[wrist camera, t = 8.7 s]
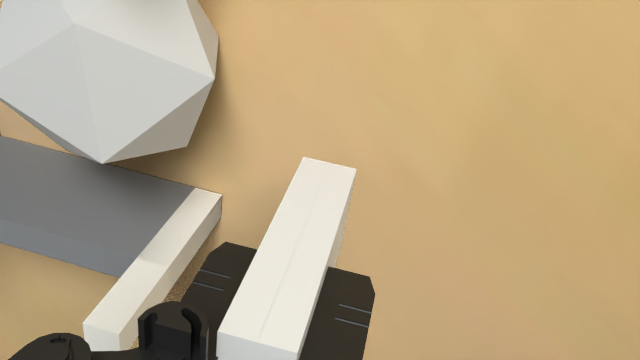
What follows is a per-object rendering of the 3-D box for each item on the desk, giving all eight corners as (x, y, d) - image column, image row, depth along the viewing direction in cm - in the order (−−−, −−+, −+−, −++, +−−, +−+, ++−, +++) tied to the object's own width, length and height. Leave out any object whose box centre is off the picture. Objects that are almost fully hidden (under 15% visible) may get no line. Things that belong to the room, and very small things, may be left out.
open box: (-19, 152, 33) (-193, 261, 24) (-108, -268, 22) (-464, -327, 14) (221, 217, 31) (120, 360, 22) (244, -210, 20) (75, -239, 12)
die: (54, 36, 28) (26, 216, 24) (-24, -126, 21) (-86, 96, 16) (222, 35, 29) (224, 208, 25) (208, -121, 22) (207, 90, 17)
